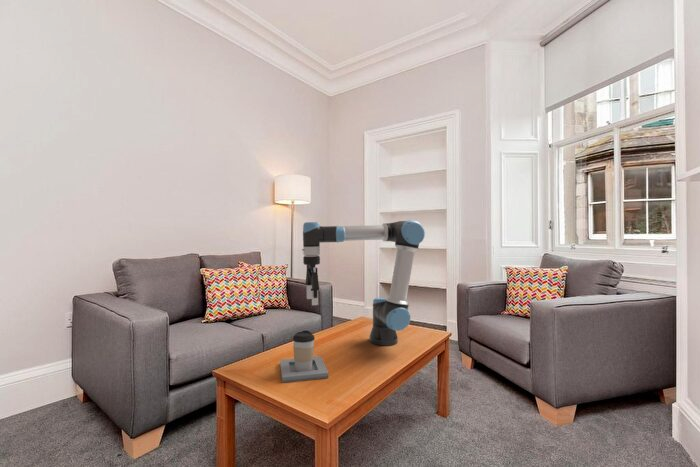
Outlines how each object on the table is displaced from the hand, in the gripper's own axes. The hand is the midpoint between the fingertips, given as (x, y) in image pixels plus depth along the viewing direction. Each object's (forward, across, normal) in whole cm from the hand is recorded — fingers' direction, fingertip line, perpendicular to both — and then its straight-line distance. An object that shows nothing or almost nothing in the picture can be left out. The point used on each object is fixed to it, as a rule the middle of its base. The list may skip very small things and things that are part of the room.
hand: (312, 301), depth 152 cm
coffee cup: (+25, +13, -6) cm, 29 cm away
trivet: (+26, +13, -7) cm, 29 cm away
